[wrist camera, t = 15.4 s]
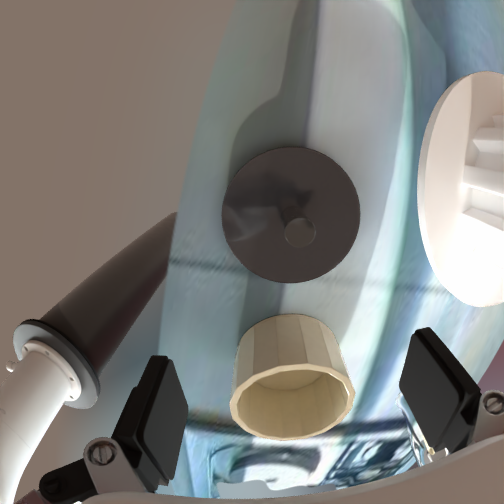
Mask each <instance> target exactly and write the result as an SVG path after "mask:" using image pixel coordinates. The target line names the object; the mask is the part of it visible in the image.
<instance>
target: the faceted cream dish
mask: <svg viewBox="0 0 504 504" xmlns="http://www.w3.org/2000/svg"><path fill="white" fill-rule="evenodd" d="M354 397H355V390H354V387H353V384H352V381H351V378H350V375H349V373H348V370H347V367H346V364H345V361H344V358H343V356H342V353H341V350H340V347H339V345H338V343H337V340H336V338H335V336H334V334H333V332H332V331H331V330H330V329H329V328H328V327H327V326H326V325H325V324H324V323H322V322H321V321H319V320H317V319H315V318H312V317H309V316H305V315H299V314H284V315H278V316H274V317H270V318H267V319H265V320H263V321H261V322H259V323H257V324H256V325H254V326H253V327H251V328H250V329H249V330H248V331H247V332H246V333H245V334H244V335H243V337H242V338H241V340H240V342H239V344H238V347H237V351H236V354H235V360H234V369H233V377H232V386H231V394H230V403H229V405H230V409H231V414H232V418H233V419H234V420H235V421H236V422H237V423H238V424H239V425H240V426H241V427H242V428H243V429H244V430H245V431H247V432H249V433H251V434H254V435H256V436H258V437H261V438H266V439H272V440H280V441H286V440H298V439H305V438H308V437H312V436H315V435H318V434H321V433H324V432H325V431H327V430H329V429H330V428H332V427H333V426H335V425H337V424H338V423H340V422H341V421H342V420H343V419H344V417H345V416H346V415H347V414H348V413H349V411H350V410H351V409H352V406H353V401H354Z"/></svg>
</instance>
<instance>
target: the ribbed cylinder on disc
mask: <svg viewBox="0 0 504 504" xmlns="http://www.w3.org/2000/svg"><path fill="white" fill-rule="evenodd" d="M417 202H418V216H419V224H420V230H421V235H422V240H423V244H424V247H425V251H426V254H427V257H428V259H429V262H430V264H431V266H432V268H433V270H434V272H435V274H436V276H437V277H438V279H439V280H440V281H441V283H442V284H443V285H444V286H445V287H446V288H447V289H448V290H449V291H450V292H451V293H452V294H453V295H454V296H456V297H457V298H458V299H459V300H461V301H463V302H464V303H466V304H469V305H472V306H476V307H488V306H493V305H497V304H499V303H502V302H504V75H503V74H500V73H496V72H491V71H482V72H477V73H473V74H469V75H466V76H464V77H462V78H460V79H458V80H456V81H455V82H454V83H452V84H451V85H450V86H449V87H448V88H447V89H446V91H445V92H444V93H443V94H442V96H441V97H440V99H439V100H438V102H437V104H436V105H435V107H434V109H433V112H432V114H431V116H430V119H429V121H428V124H427V127H426V130H425V134H424V138H423V142H422V147H421V152H420V159H419V167H418V180H417Z"/></svg>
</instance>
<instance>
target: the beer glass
mask: <svg viewBox="0 0 504 504" xmlns="http://www.w3.org/2000/svg"><path fill="white" fill-rule="evenodd" d="M395 403H396V405H397V407H398V408H399V409H400V411H401V412H402V414H403V415H404V417H405V420H406V423H407V428H408V433H409V439H410V444H411V448H412V451H413V454H414V457H415V459H416V461H417V464H418V466H419V467H421V466H423V465H426V464H428V463H431V462H433V461H436V460H438V459H441V458H443V457H446V456H447V454H448V450H447V448H445V449H443V450H441V451H438V452H436V453H435V452H434V450H433V448H431V447H429V446H428V444H427V442H426V440H425V438H424V436H423V434H422V432H421V430H420V428H419V426H418V424H417V422H416V420H415V418H414V416H413V414H412V412H411V410H410V408H409V406H408V404H407V402H406V400H405V398H404V396H403V394H402V392H401V391H400V393H399V394H398V395H397V397H396V400H395Z"/></svg>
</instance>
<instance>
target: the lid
mask: <svg viewBox="0 0 504 504" xmlns="http://www.w3.org/2000/svg"><path fill="white" fill-rule="evenodd" d="M359 224H360V204H359V199H358V195H357V192H356V189H355V187H354V185H353V183H352V181H351V179H350V178H349V176H348V175H347V173H346V172H345V171H344V170H343V169H342V168H341V167H340V166H339V165H338V164H337V163H336V162H335V161H333V160H332V159H330V158H329V157H327V156H326V155H324V154H322V153H319V152H317V151H314V150H311V149H308V148H301V147H282V148H277V149H273V150H269V151H267V152H264V153H262V154H260V155H258V156H256V157H255V158H253V159H251V160H250V161H249V162H248V163H246V164H245V165H244V166H243V167H242V168H241V169H240V170H239V171H238V172H237V174H236V175H235V176H234V178H233V179H232V181H231V183H230V185H229V186H228V188H227V191H226V194H225V197H224V201H223V205H222V226H223V231H224V235H225V238H226V241H227V243H228V245H229V247H230V249H231V251H232V252H233V254H234V255H235V257H236V258H237V259H238V260H239V261H240V262H241V263H242V264H243V265H244V266H245V267H246V268H247V269H249V270H250V271H252V272H253V273H255V274H256V275H258V276H260V277H262V278H265V279H268V280H271V281H275V282H281V283H299V282H305V281H309V280H313V279H315V278H318V277H320V276H322V275H324V274H326V273H327V272H329V271H330V270H332V269H333V268H335V267H336V266H337V265H338V264H339V263H340V262H341V261H342V260H343V259H344V257H345V256H346V255H347V254H348V252H349V251H350V249H351V248H352V245H353V243H354V241H355V239H356V236H357V233H358V229H359Z"/></svg>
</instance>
